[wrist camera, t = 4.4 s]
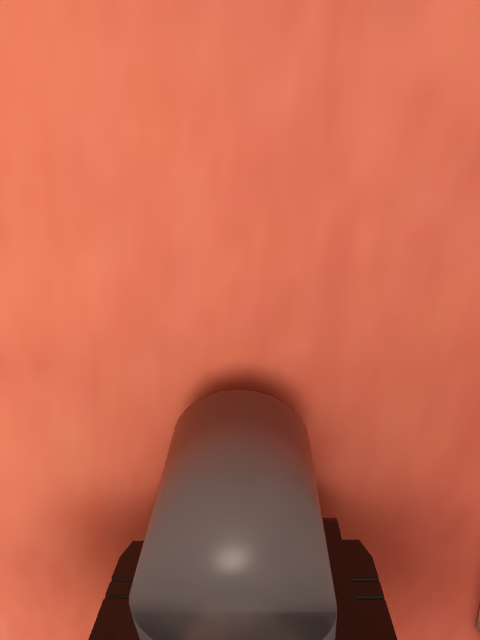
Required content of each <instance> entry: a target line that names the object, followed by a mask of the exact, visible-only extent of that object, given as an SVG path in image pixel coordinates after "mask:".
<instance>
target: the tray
mask: <svg viewBox="0 0 480 640" xmlns="http://www.w3.org/2000/svg"><path fill="white" fill-rule="evenodd" d="M476 628H477V630H478V632H479V634H480V610H479V615H478V620H477V626H476Z"/></svg>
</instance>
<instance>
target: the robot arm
mask: <svg viewBox="0 0 480 640" xmlns="http://www.w3.org/2000/svg"><path fill="white" fill-rule="evenodd" d="M322 520H323V526H324V532H325V538H326V544H327V550H328V556H329V562H330V568H331V574H332V580H333V586H334V592H335V597H336V603H337V619H336V634H335V640H397V637H396V634H395V631H394V627H393V624H392V621H391V617H390V614H389V611H388V607H387V604H386V601H385V600H384V594H383V591H382V588H381V584H380V582H379V578H378V575H377V571H376V568H375V565H374V561H373V558H372V556H371V555H370V554H369V552H368V551H367V550H366V548H365V547H364V546H363V545H362V543H361V542H360V541H359V540H342V538H341V534H340V530H339V525H338V521H337V519H336V518H322ZM143 543H144V541H133V542H132V543H131V544H130V545H129V547H128V548H127V549H126V550H125V552H124V553H123V554H122V555H121V557H120V558H119V560H118V563H117V565H116V568H115V571H114V573H113V576H112V581H111V582H110V584H109V587H108V589H107V592H106V596H105V599H104V600H103V603H102V605H101V608H100V610H99V613H98V616H97V618H96V621H95V624H94V626H93V629H92V632H91V634H90V637H89V640H140V638H139V635H138V632H137V629H136V626H135V623H134V620H133V617H132V614H131V610H130V605H129V595H130V590H131V587H132V583H133V579H134V576H135V572H136V568H137V565H138V561H139V557H140V554H141V550H142V546H143Z"/></svg>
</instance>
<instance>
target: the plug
mask: <svg viewBox="0 0 480 640" xmlns="http://www.w3.org/2000/svg"><path fill="white" fill-rule="evenodd" d="M129 605H130V610H131V614H132V617H133V620H134V623H135V626H136V629H137V632H138V635H139V638H140V640H335V634H336V619H337V603H336V597H335V592H334V586H333V580H332V574H331V568H330V562H329V556H328V550H327V544H326V538H325V532H324V526H323V520H322V514H321V508H320V502H319V496H318V490H317V484H316V478H315V472H314V466H313V460H312V454H311V448H310V442H309V437H308V433H307V429H306V427H305V425H304V423H303V421H302V420H301V418H300V417H299V415H298V414H297V413H296V412H295V411H294V410H293V409H292V408H291V407H289V406H288V405H287V404H285V403H284V402H282V401H281V400H279V399H277V398H275V397H273V396H270V395H267V394H264V393H260V392H256V391H250V390H227V391H221V392H217V393H214V394H211V395H208V396H206V397H203V398H201V399H199V400H198V401H196V402H195V403H193V404H192V405H191V406H190V407H188V408H187V409H186V410H185V411H184V413H183V414H182V415H181V417H180V418H179V420H178V422H177V424H176V426H175V429H174V433H173V437H172V440H171V444H170V448H169V451H168V455H167V458H166V462H165V466H164V469H163V473H162V477H161V480H160V484H159V488H158V491H157V495H156V499H155V502H154V506H153V510H152V513H151V517H150V521H149V524H148V528H147V532H146V535H145V539H144V543H143V546H142V550H141V554H140V557H139V561H138V565H137V568H136V572H135V576H134V579H133V583H132V587H131V590H130V595H129Z"/></svg>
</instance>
